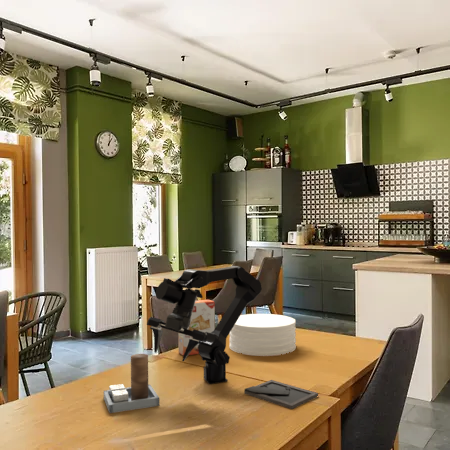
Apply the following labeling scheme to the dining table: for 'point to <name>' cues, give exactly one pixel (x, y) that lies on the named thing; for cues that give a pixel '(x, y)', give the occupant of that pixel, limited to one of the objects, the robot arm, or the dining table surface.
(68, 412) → the dining table surface
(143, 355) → the walnut dowel
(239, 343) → the plate stack
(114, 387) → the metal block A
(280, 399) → the picture frame
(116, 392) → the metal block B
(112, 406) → the parts tray
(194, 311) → the cracker box
